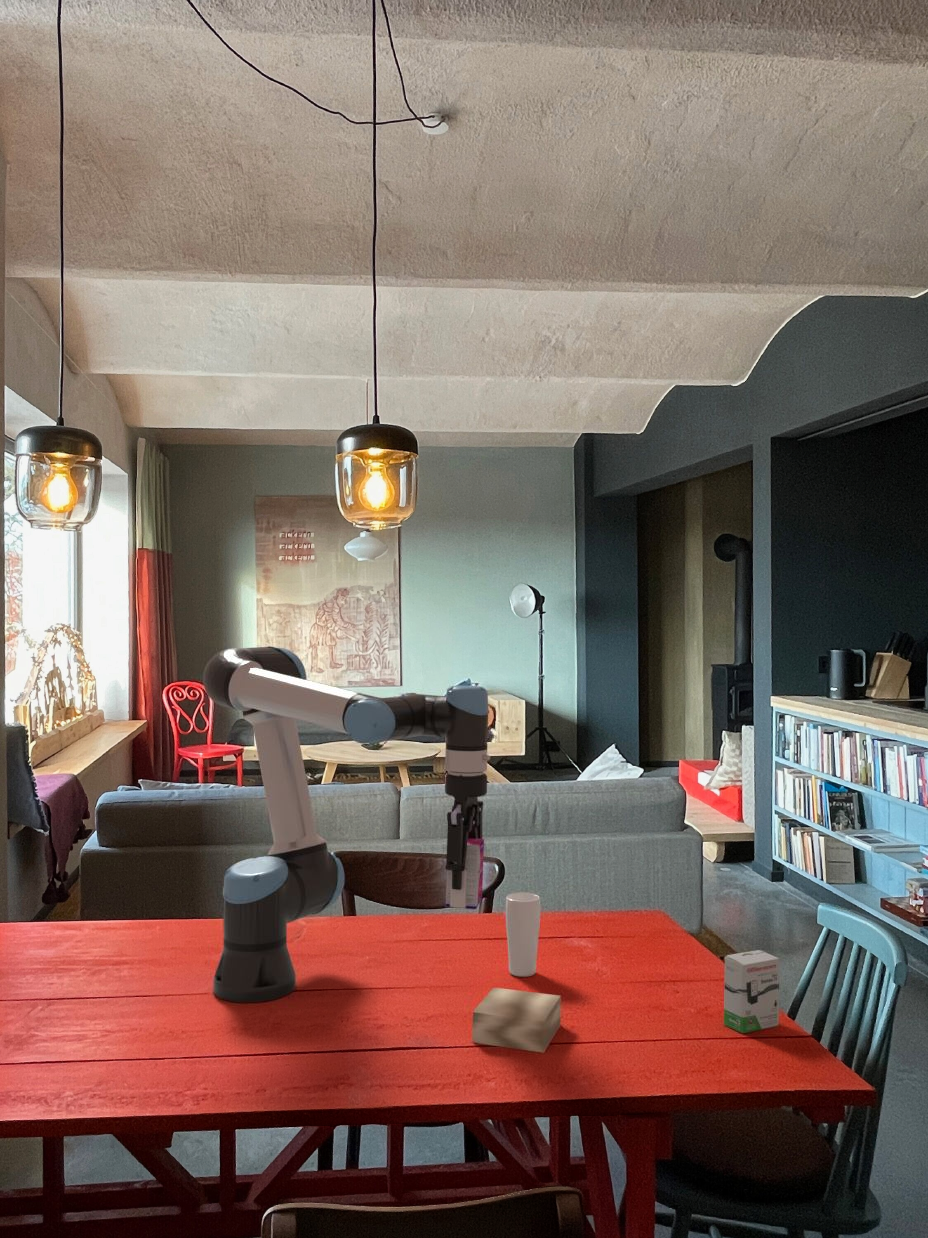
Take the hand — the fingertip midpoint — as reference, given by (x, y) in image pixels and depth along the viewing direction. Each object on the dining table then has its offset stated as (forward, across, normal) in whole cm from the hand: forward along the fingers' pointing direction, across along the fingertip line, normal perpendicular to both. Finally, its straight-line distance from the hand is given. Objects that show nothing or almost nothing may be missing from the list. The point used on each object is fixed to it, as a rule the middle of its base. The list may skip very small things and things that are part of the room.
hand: (464, 901), depth 185 cm
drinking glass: (+19, +21, -5) cm, 29 cm away
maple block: (+19, -8, -12) cm, 24 cm away
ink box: (+19, +9, -49) cm, 54 cm away
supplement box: (+1, 0, 0) cm, 1 cm away
